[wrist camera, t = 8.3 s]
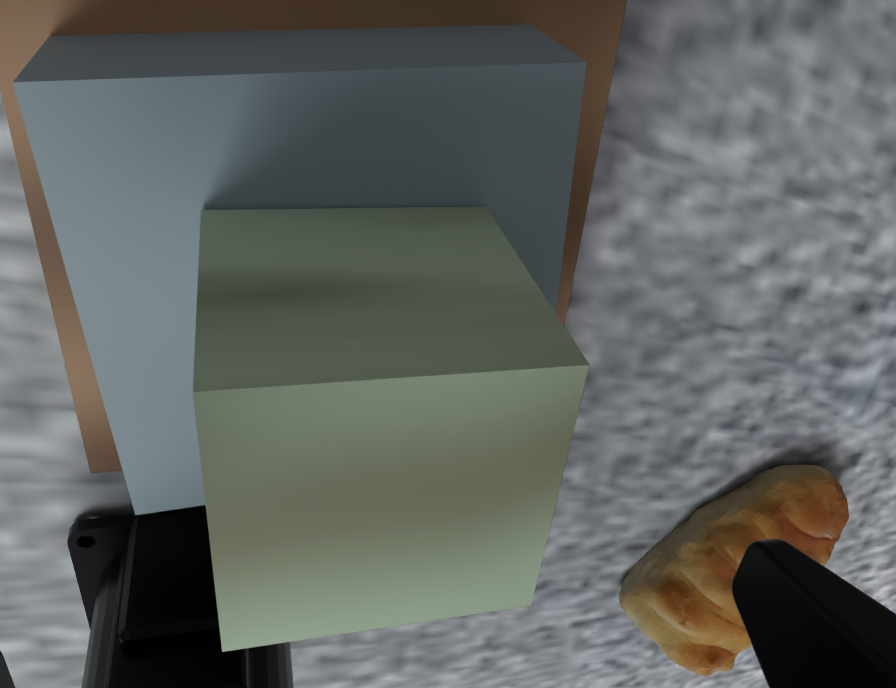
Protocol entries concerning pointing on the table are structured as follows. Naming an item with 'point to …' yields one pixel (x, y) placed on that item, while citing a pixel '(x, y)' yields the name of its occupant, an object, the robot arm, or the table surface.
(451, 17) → the walnut base slab
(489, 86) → the slate top slab
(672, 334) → the table surface
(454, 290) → the sage block
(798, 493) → the pastry
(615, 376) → the table surface
